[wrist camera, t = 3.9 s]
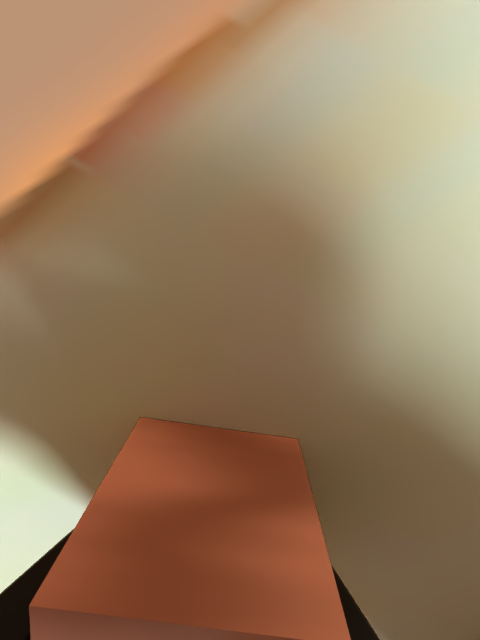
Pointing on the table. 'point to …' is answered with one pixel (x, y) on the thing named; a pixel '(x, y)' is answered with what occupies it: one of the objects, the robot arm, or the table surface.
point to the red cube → (195, 546)
